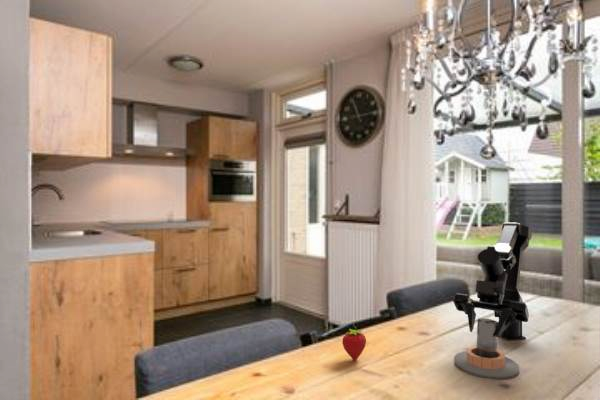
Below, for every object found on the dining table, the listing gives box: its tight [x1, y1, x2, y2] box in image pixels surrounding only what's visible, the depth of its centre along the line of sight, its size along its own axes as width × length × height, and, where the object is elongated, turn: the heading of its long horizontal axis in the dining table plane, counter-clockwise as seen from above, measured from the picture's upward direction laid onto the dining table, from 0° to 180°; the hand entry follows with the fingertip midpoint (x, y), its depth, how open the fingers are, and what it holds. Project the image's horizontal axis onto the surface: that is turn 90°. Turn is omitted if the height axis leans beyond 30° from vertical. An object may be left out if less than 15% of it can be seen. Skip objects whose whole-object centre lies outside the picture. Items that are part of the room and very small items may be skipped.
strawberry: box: [342, 325, 367, 361], centre depth 111 cm, size 6×8×10 cm
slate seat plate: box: [453, 345, 520, 380], centre depth 106 cm, size 16×16×4 cm
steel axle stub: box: [476, 317, 499, 358], centre depth 106 cm, size 5×5×11 cm
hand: (483, 333), depth 105 cm, fingers open, 6 cm apart
